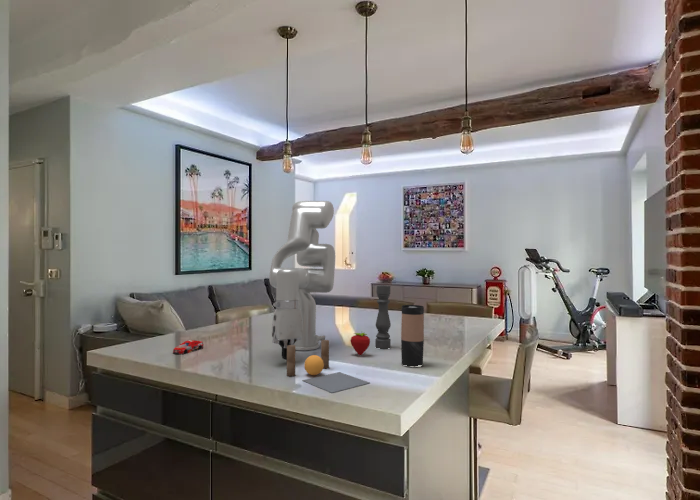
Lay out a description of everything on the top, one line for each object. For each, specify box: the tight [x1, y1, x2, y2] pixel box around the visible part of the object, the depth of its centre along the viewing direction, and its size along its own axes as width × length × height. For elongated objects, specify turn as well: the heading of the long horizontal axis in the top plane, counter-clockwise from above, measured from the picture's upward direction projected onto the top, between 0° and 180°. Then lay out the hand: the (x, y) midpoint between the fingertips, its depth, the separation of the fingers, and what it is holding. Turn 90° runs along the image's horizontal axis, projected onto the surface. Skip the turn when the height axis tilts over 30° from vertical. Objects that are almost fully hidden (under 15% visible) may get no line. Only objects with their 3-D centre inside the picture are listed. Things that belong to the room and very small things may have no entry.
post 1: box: [286, 345, 296, 377], centre depth 127 cm, size 3×3×9 cm
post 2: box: [320, 339, 330, 370], centre depth 136 cm, size 3×3×9 cm
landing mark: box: [302, 371, 371, 394], centre depth 121 cm, size 14×14×1 cm
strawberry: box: [350, 332, 371, 356], centre depth 154 cm, size 6×8×10 cm
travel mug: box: [400, 304, 425, 366], centre depth 142 cm, size 8×8×20 cm
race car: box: [172, 339, 204, 355], centre depth 158 cm, size 13×5×4 cm, turn 158°
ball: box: [303, 354, 324, 376], centre depth 128 cm, size 6×6×6 cm
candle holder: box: [374, 284, 392, 350], centre depth 168 cm, size 6×6×25 cm
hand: (286, 358), depth 142 cm, fingers closed
